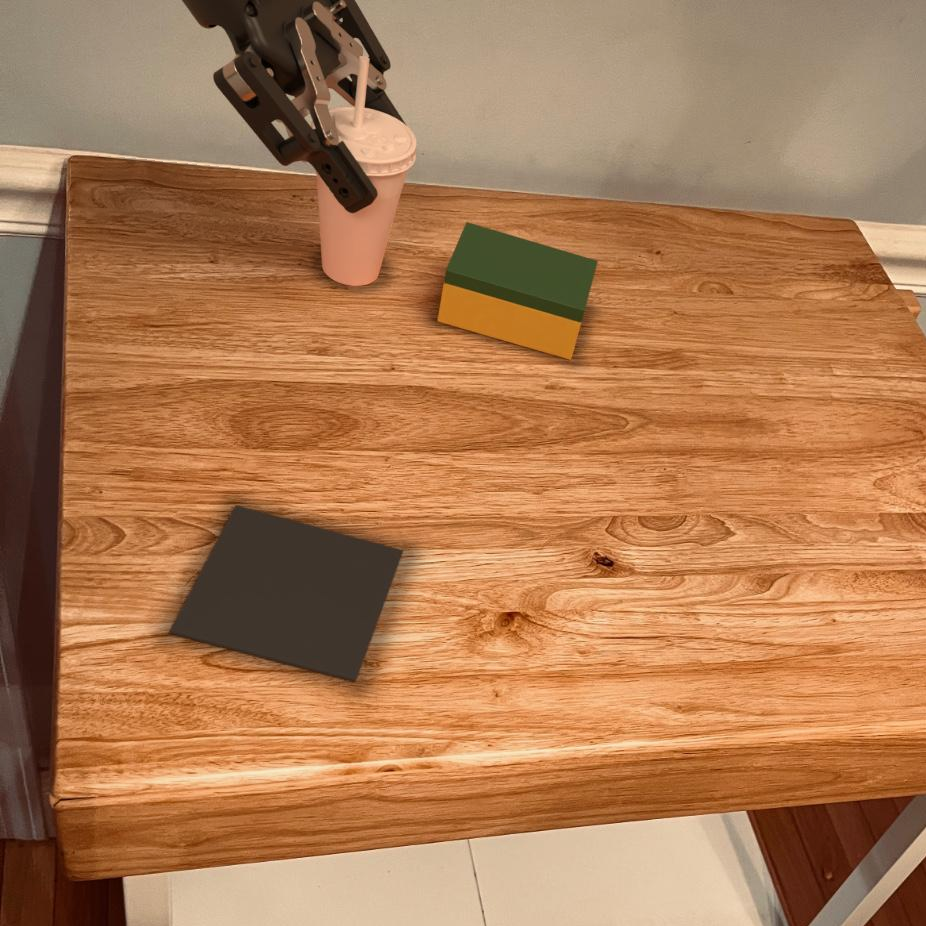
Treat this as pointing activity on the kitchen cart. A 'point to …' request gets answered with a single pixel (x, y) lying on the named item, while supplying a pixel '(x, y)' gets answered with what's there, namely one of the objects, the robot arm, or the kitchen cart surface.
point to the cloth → (290, 593)
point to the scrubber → (516, 290)
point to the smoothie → (385, 163)
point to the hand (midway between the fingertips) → (385, 178)
